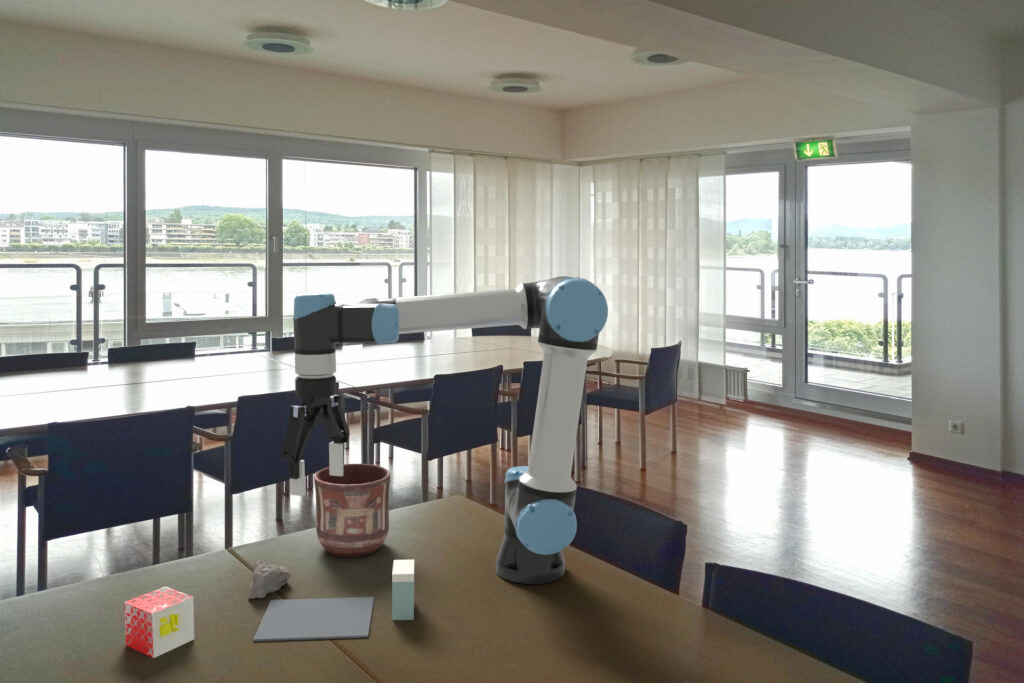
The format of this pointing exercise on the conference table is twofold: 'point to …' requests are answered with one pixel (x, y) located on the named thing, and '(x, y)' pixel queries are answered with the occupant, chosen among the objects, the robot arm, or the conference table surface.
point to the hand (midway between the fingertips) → (317, 484)
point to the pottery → (352, 509)
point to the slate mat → (316, 619)
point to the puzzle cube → (159, 621)
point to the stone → (267, 579)
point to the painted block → (403, 590)
